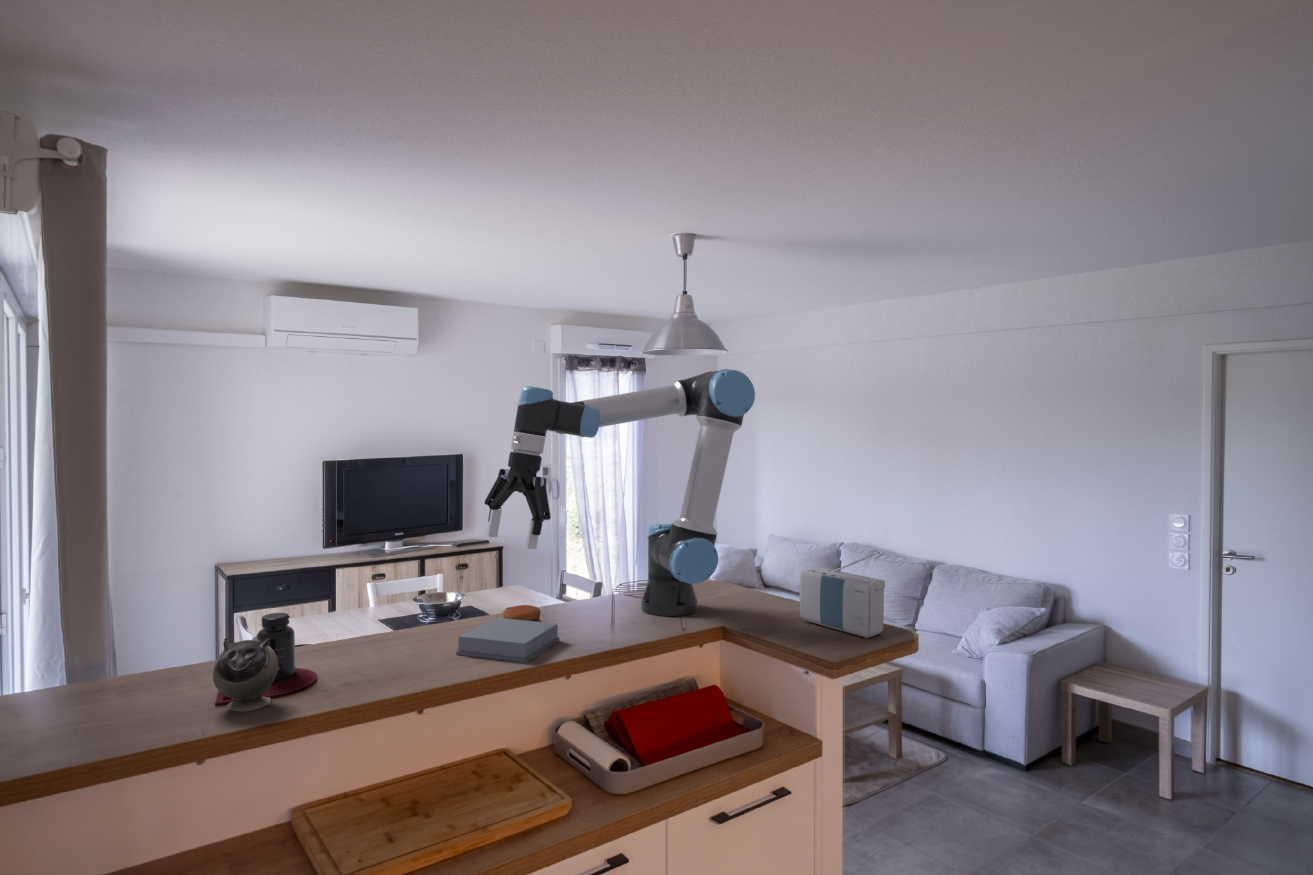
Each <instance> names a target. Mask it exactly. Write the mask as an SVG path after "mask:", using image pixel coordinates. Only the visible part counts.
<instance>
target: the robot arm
mask: <svg viewBox="0 0 1313 875" xmlns="http://www.w3.org/2000/svg"><path fill="white" fill-rule="evenodd" d="M755 391H756V390H755V386H754V384H753V383H752V381H751V378H750V377H749V376H748V375H746V374H745V373H743V372H742V371H740V370H738V369H729V368H724V369H720V370H712V371H707V372H704V373H700V374H698V375H695V376H691V377H689V378H685V379H679V380H676V381H673V383H672V385H668V386H667V385H666V386H662V387H661V386H660V387H654V388H650V389H644V390H638V391H631V392H626V393H620V394H614V395H608V396H602V397H597V398H591V399H585V400H581V401H574V402H571V401H570V402H568V401H563V400H558V399H555V398H554V393H553V391H552V390H551V389H547V388H542V387H537V386H530V385H529V386H528V385H527V386H524V387H522V388H521V391H520V392H521V393H520V396H519V400H518V403H517V409H516V415H515V416H516V417H515V422H514V428H513V434H512V439H511V446H510V448H511V449H512V451H510V452H509V456H508V462H507V466H508V467H509V469H507V468H506V469H505V468H500V469H499V470H498V475H497V477H496V479H495V481H494V483H493V485H492V487H491V489H490V490H489V492H488V494H487V496H486V497H485V500H484V505H485V506H488V508H489V512H488V513H489V514H488V519H487V521H488V526H487V531H486V532H487V533H486V537H487V538H498V535H499V529H500V524H501V518H502V513H503V512H502V511H503V510H502V506H503V505H504V504H505V502H507V501H508V499H509V498H510V497H512V495H513V493H515V492H517V493H521V494H522V495H523V496H525V499H526V502H527V506H528V508H529V510H530V514H531V516H532V518H531V519H529V525H528V531H527V536H526V537H527V538H526V542H525V547H524V549H526V550H537V546H538V540H539V536H540V535H541V534H542V532H541V531H542V527H543V522H544V521H549V520H551V518H552V517H551V511H550V506H549V498H548V493H547V478H546V477H543V476H538V475H537V473H538V472H540V471H541V466H542V461H543V457H542V455H543V453H544V449H545V444H546V437H547V432H548V431H549V432H555V433H557V434H560V435H565V434H566V435H572V436H577V437H581V438H591V439H592V438H595V437H596V436H597V435H598V432H599V428H603V427H609V426H615V425H619V424H626V423H630V422H631V423H632V422H637V421H643V420H648V419H654V418H659V417H666V416H670V415H678V416H679V417H685V416H696V420H697V421H698V423H699V424H700V427H699V431H698V435H697V440H696V444H695V448H694V453H693V458H692V462H691V466H690V471H689V476H688V480H687V483H686V489H685V491H684V492H685V493H684V498H683V501H682V502H683V503H682V505H681V510H680V514H679V517H678V518H677V519H676V520H674V521H672V523H661V524H659V523H657V524H652V525H650V526H649V528H648V533H647V534H648V535H647V541H648V542H647V544H648V546H647V560H648V562H647V564H648V565H647V567H648V568H647V572H648V573H647V582H646V585H645V589H644V590H643V591H644V592H643V595H642V598H641V606H640V608H641V611H643V612H644V613H647V614H649V615H650V614H651V615H655V616H666V617H672V616H673V617H677V616H685V615H691V614H694V613H696V612H697V611H698V610H699V609H698V607H699V602H698V598H697V595H696V592H695V588H694V584H695V585H696V584H700V583H704V582H705V581H706V580H708V579H710V578H711V577H712V576H713V574H714V573H715V571H716V569H717V567H718V564H719V554H718V551H717V548H716V546H715V545H716V541H717V537H718V532H717V530H716V529H715V527H714V522H715V517H716V513H717V508H718V506H719V505H718V503H719V500H720V494H721V490H722V486H723V481H724V478H725V473H726V468H727V464H728V460H729V456H730V451H731V446H732V442H733V437H734V433H735V432H736V431H738V430H739V429H741V428H742V425H743V421H744V416H745V414H747V413H748V412H750V410H751V409H752V407H753V405H754V403H755V400H756V392H755ZM541 454H542V455H541Z"/></svg>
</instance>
